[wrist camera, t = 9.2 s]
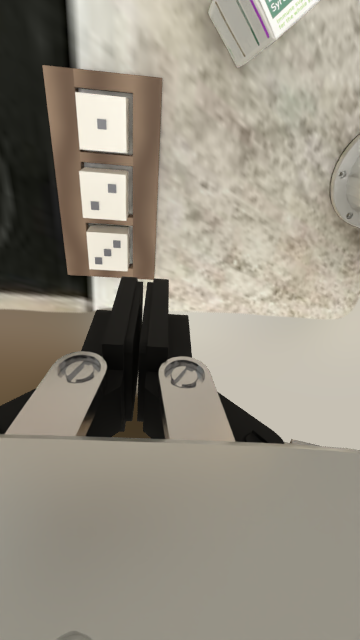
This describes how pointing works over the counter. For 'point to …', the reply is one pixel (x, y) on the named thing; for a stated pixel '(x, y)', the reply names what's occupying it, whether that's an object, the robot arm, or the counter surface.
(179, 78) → the counter surface
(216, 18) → the syrup box
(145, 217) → the keypad board
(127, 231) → the white square block
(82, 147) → the keypad button
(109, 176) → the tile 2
